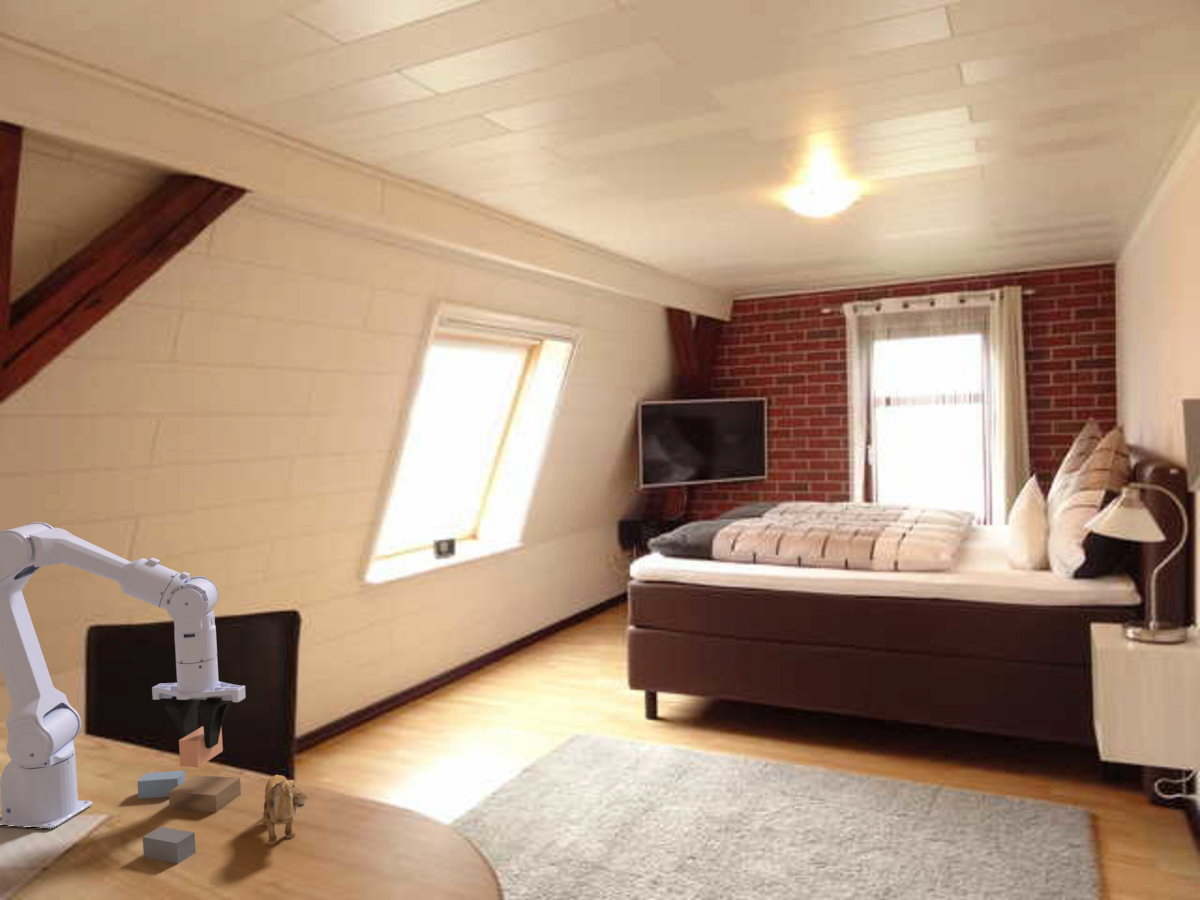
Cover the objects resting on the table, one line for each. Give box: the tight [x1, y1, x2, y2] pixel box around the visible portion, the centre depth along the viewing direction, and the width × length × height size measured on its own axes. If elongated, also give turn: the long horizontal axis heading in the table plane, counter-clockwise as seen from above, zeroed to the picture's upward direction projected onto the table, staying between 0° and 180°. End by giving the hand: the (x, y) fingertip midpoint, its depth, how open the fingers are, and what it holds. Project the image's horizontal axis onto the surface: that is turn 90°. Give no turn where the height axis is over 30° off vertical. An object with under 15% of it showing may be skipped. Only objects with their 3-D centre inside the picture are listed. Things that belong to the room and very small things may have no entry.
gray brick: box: [142, 826, 196, 865], centre depth 115 cm, size 6×3×3 cm, turn 70°
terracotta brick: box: [178, 725, 224, 768], centre depth 130 cm, size 3×6×4 cm, turn 170°
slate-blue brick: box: [137, 770, 186, 800], centre depth 134 cm, size 6×3×3 cm, turn 96°
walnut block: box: [168, 774, 242, 814], centre depth 131 cm, size 8×6×3 cm
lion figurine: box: [261, 774, 309, 846], centre depth 121 cm, size 15×5×9 cm, turn 34°
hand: (201, 745), depth 130 cm, fingers closed on terracotta brick, 3 cm apart
